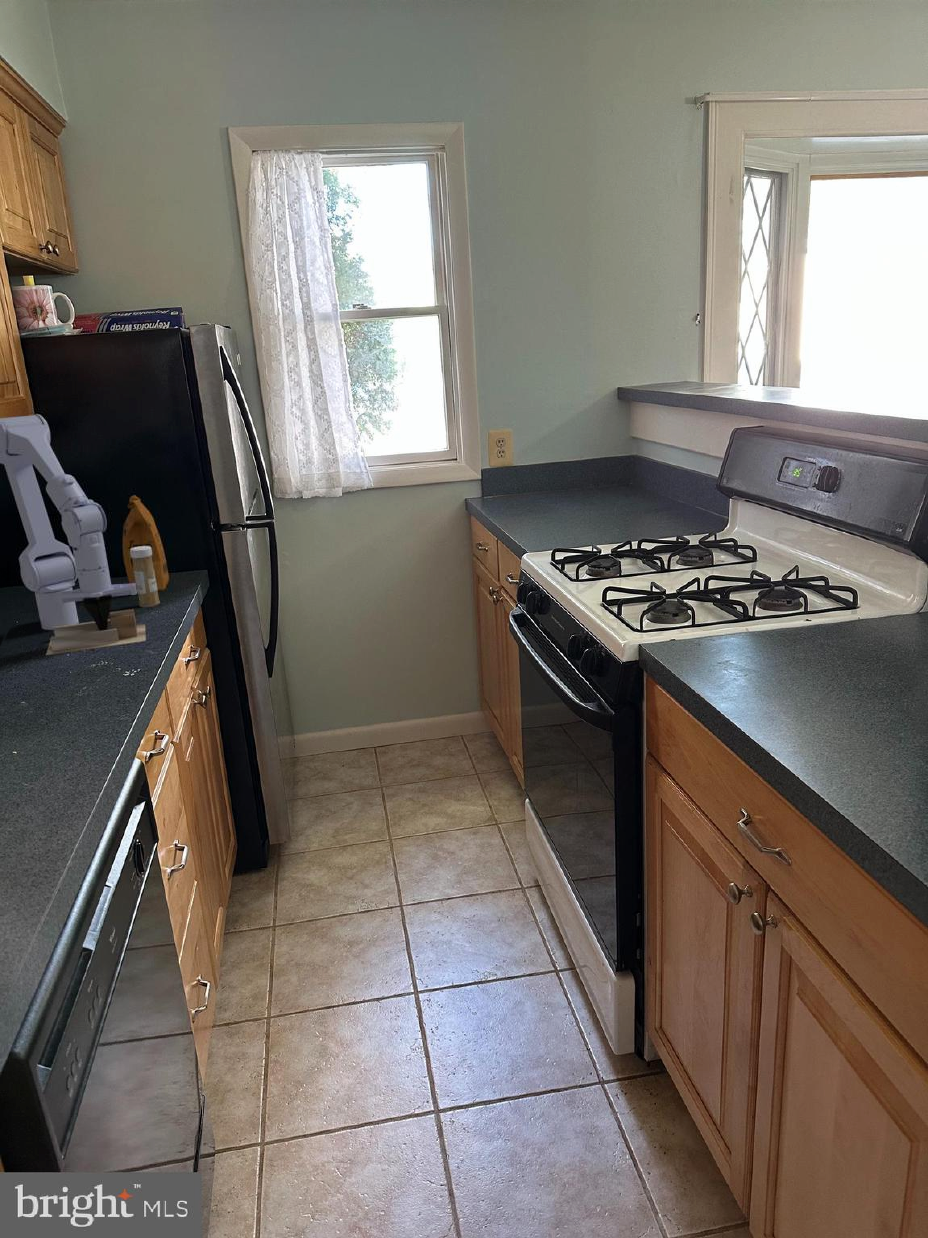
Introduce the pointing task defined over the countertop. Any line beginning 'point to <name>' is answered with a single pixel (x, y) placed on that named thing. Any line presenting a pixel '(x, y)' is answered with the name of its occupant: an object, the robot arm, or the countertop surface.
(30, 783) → the countertop surface
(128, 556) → the coffee package
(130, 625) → the walnut block
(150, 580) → the sprinkles bottle
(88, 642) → the frame
